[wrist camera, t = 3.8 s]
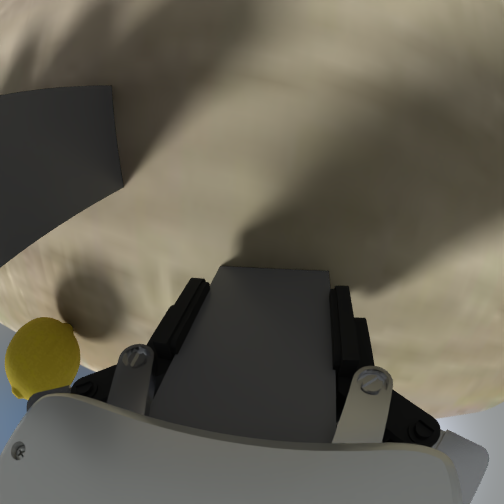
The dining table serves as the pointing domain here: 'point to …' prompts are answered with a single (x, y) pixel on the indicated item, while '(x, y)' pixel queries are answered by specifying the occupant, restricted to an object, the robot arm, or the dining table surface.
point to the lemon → (42, 357)
